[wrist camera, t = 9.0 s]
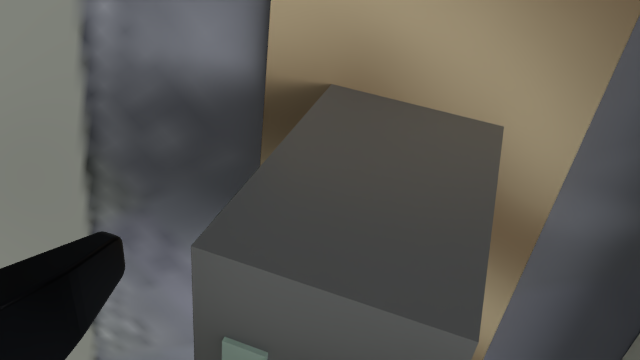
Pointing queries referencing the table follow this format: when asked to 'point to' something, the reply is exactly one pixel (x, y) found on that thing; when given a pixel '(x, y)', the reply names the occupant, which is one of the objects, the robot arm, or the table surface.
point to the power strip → (633, 350)
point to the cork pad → (462, 89)
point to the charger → (353, 239)
